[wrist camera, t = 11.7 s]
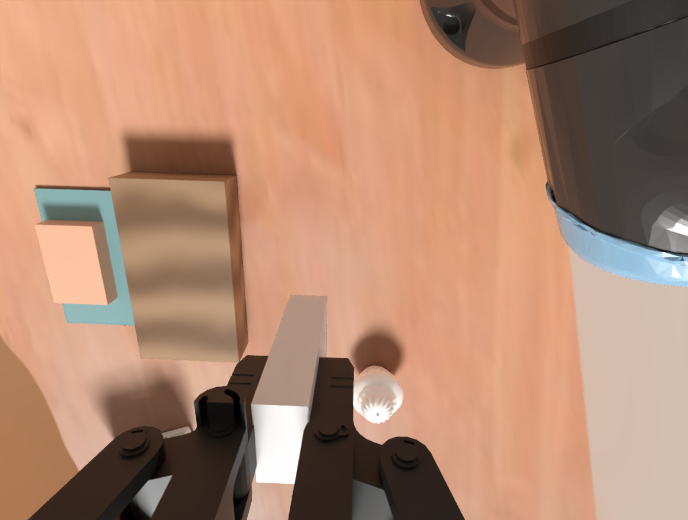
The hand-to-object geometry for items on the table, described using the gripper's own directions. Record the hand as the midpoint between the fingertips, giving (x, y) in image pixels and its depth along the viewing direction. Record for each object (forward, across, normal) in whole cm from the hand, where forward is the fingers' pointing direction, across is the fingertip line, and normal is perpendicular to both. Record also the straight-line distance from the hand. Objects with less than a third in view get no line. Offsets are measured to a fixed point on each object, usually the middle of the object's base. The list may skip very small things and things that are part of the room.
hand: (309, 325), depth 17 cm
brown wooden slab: (+26, -16, -8) cm, 32 cm away
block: (+24, -28, -8) cm, 38 cm away
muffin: (+27, +5, -22) cm, 35 cm away
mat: (+26, -26, -8) cm, 38 cm away
